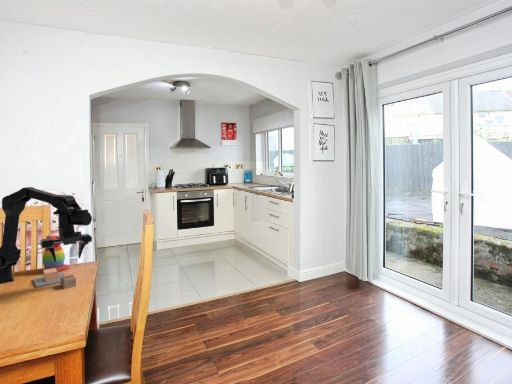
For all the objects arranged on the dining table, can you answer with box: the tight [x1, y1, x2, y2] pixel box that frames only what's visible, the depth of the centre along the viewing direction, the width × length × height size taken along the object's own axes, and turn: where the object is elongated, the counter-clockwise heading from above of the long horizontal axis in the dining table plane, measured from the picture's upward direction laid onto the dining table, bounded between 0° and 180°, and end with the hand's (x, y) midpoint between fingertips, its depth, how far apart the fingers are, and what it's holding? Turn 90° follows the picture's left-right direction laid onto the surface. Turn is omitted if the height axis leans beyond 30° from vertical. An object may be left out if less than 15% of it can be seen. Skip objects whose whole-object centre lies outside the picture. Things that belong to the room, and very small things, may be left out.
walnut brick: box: [60, 273, 77, 290], centre depth 139 cm, size 6×4×4 cm
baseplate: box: [32, 272, 66, 289], centre depth 144 cm, size 12×12×1 cm
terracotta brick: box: [43, 268, 58, 282], centre depth 144 cm, size 6×4×4 cm
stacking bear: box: [42, 235, 71, 273], centre depth 158 cm, size 11×10×18 cm
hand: (67, 259), depth 138 cm, fingers open, 9 cm apart
